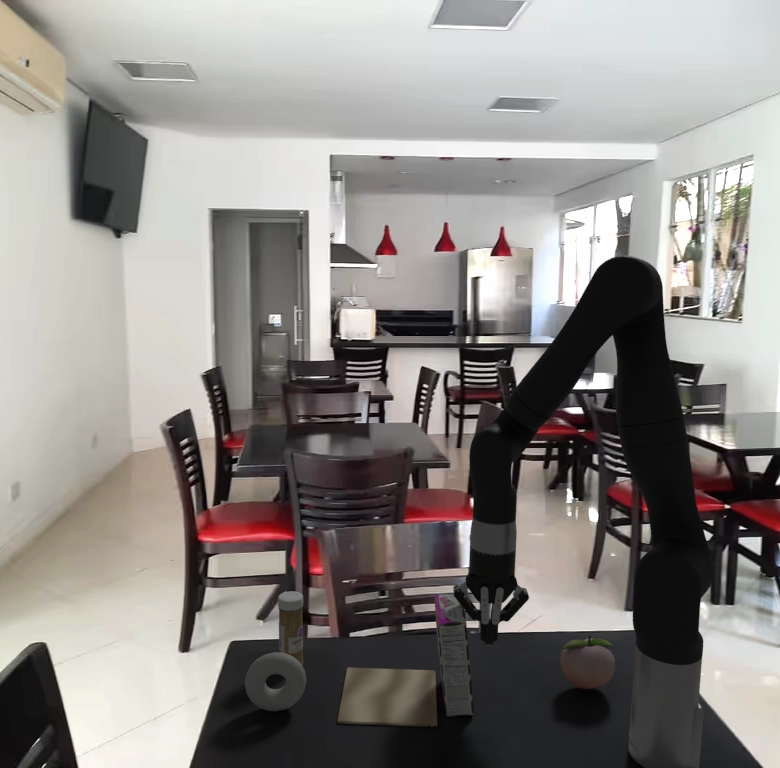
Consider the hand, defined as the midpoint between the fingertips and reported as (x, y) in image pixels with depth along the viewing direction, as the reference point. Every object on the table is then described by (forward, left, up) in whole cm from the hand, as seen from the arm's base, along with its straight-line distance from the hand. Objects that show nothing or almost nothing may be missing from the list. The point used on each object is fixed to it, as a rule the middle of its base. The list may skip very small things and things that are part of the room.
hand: (488, 642), depth 121 cm
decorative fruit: (-18, -4, -11) cm, 21 cm away
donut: (+35, +5, -11) cm, 37 cm away
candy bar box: (+5, 0, -10) cm, 12 cm away
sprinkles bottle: (+35, -9, -11) cm, 38 cm away
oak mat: (+17, 0, -10) cm, 20 cm away
